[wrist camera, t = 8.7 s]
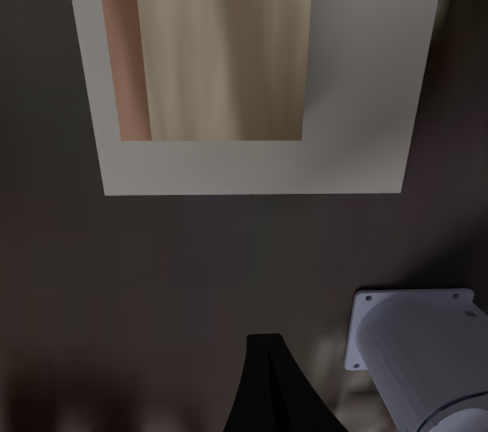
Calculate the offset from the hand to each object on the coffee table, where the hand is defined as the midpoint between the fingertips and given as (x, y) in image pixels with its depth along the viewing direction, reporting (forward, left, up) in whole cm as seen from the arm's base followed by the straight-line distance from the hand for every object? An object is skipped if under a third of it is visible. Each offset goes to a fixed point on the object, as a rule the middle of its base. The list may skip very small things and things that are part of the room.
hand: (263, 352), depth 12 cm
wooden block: (-2, -11, -8) cm, 14 cm away
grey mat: (0, -10, -10) cm, 14 cm away
